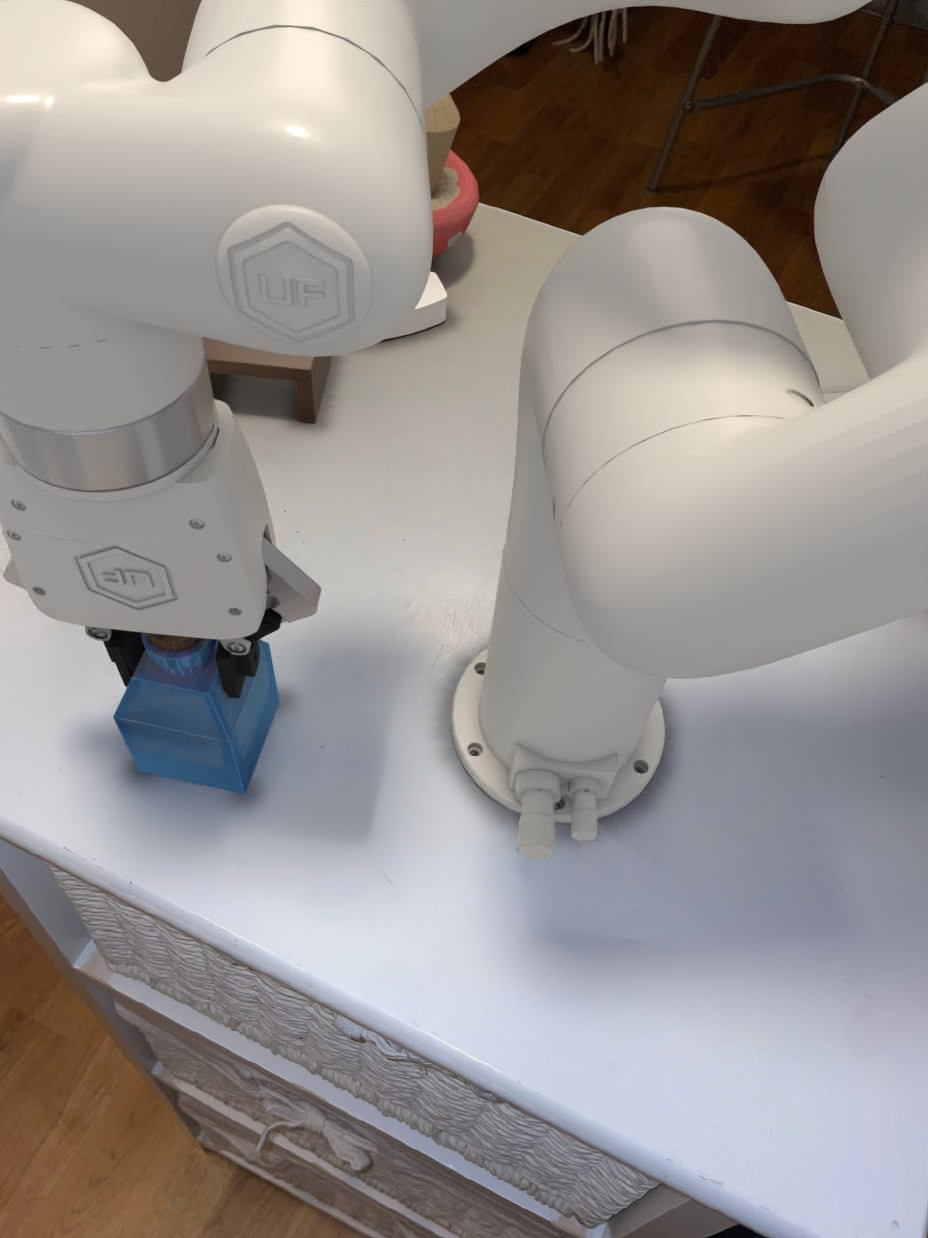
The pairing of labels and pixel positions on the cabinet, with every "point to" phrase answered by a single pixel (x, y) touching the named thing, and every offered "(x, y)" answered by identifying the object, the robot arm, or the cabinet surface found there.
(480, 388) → the cabinet surface
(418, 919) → the cabinet surface
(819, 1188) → the cabinet surface
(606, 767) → the robot arm
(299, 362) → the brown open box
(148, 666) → the perfume bottle
